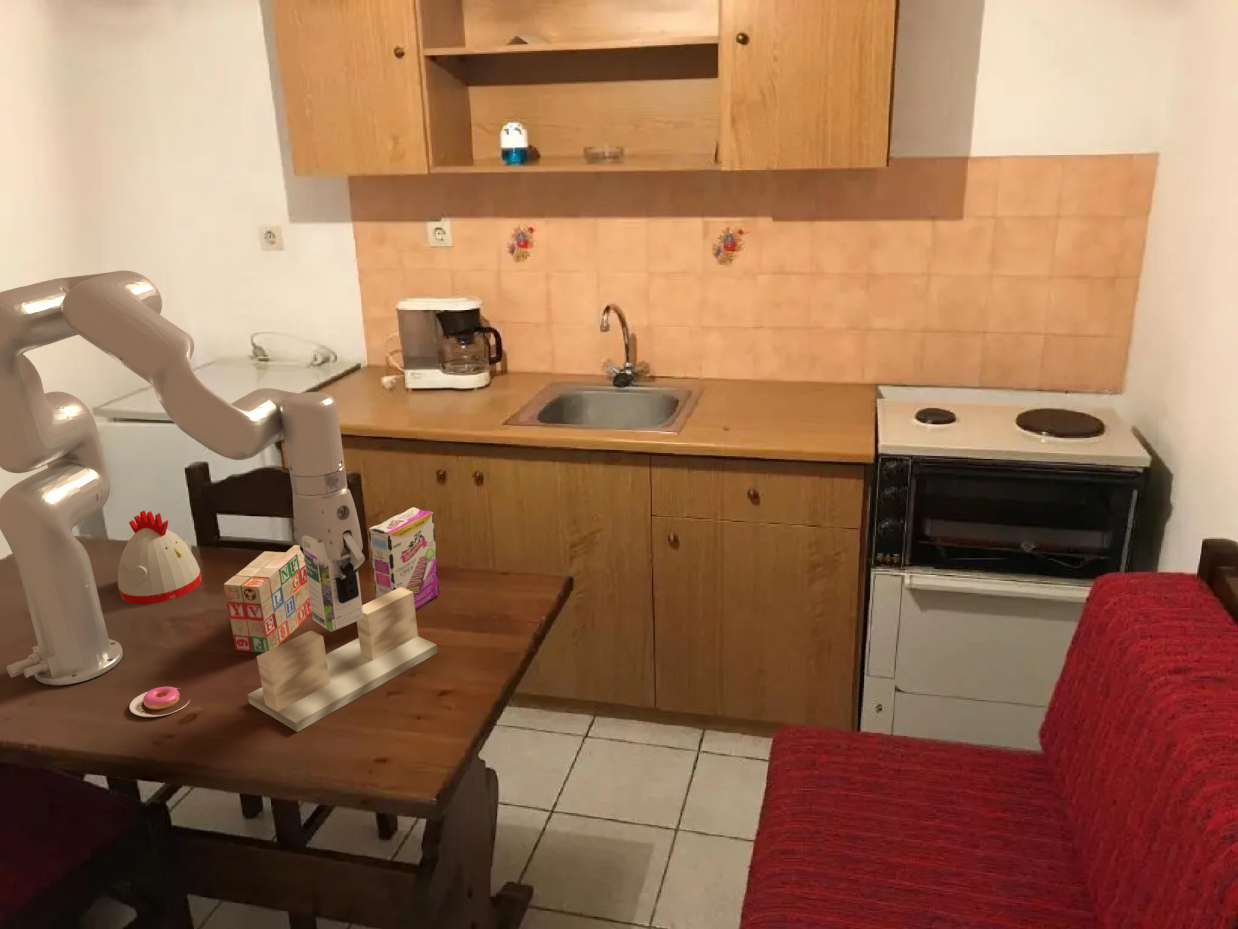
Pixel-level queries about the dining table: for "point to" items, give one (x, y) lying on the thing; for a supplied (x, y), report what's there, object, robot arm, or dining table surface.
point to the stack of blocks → (268, 600)
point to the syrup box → (327, 588)
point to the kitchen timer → (156, 563)
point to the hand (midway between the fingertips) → (334, 592)
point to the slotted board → (340, 663)
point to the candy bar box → (406, 555)
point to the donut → (155, 701)
